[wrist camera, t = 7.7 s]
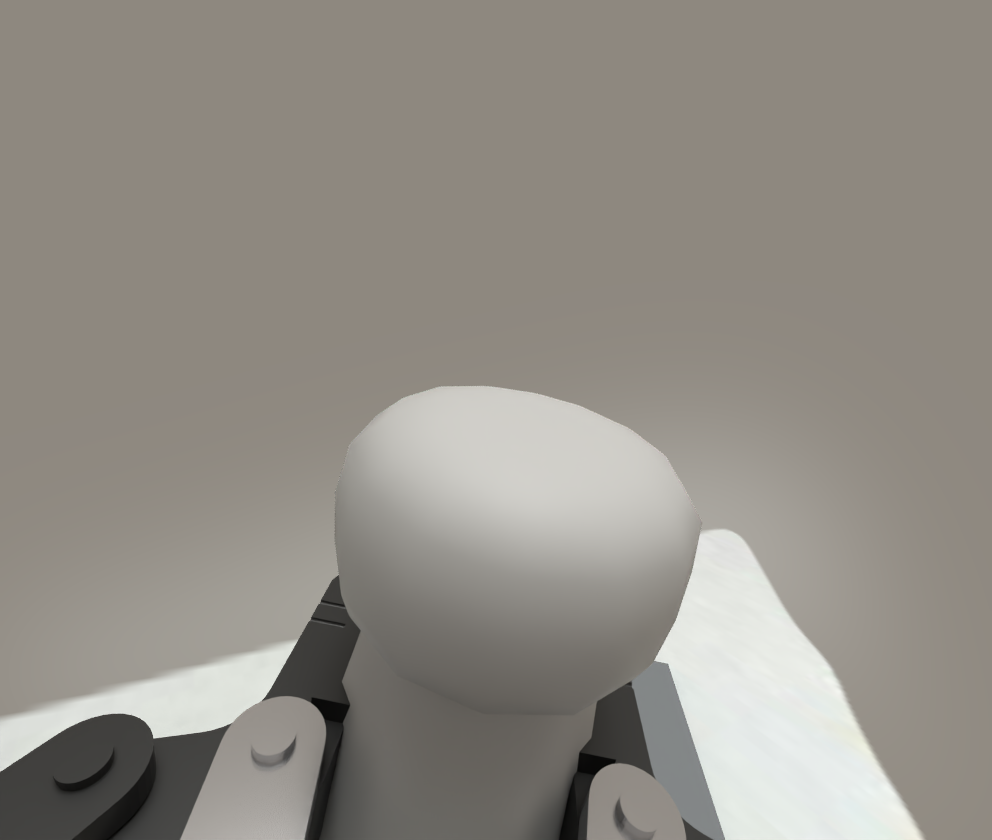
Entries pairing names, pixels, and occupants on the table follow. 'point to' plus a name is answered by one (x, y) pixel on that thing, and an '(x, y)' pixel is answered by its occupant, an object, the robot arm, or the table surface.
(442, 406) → the salt shaker
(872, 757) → the table surface
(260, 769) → the robot arm
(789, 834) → the table surface
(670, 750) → the slate board
